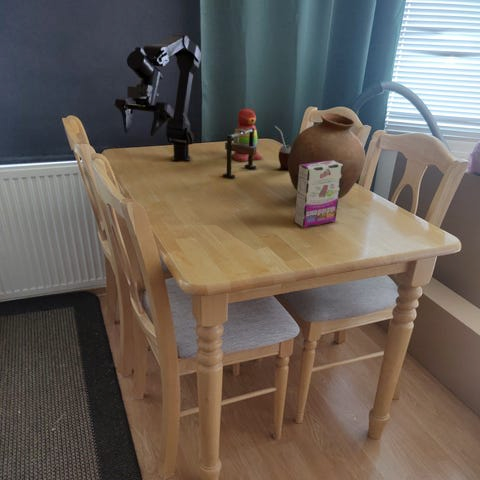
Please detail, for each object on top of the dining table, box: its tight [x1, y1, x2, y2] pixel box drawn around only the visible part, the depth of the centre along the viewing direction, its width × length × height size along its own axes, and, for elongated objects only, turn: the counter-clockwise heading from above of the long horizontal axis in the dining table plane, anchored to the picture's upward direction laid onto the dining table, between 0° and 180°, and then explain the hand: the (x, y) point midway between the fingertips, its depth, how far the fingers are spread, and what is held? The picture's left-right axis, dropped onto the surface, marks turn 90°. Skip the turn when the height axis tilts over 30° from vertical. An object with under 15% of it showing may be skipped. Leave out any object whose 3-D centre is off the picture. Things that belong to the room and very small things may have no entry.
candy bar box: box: [294, 160, 343, 229], centre depth 132 cm, size 11×5×16 cm, turn 117°
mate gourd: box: [274, 125, 292, 171], centre depth 174 cm, size 8×8×15 cm
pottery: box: [287, 112, 366, 200], centre depth 146 cm, size 23×23×25 cm
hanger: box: [224, 129, 258, 155], centre depth 166 cm, size 12×2×8 cm, turn 57°
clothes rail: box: [222, 128, 257, 180], centre depth 169 cm, size 4×16×14 cm, turn 146°
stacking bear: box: [232, 108, 263, 162], centre depth 185 cm, size 11×10×18 cm
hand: (138, 134), depth 153 cm, fingers open, 9 cm apart
